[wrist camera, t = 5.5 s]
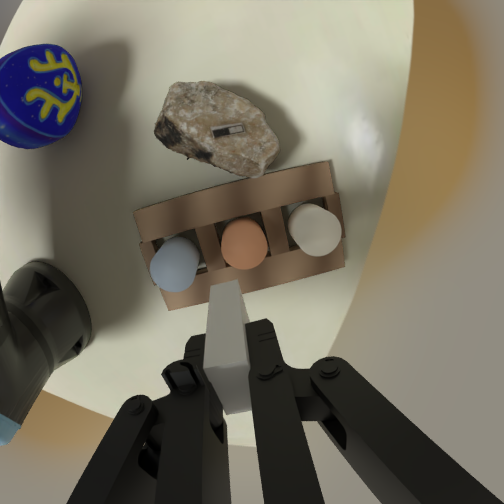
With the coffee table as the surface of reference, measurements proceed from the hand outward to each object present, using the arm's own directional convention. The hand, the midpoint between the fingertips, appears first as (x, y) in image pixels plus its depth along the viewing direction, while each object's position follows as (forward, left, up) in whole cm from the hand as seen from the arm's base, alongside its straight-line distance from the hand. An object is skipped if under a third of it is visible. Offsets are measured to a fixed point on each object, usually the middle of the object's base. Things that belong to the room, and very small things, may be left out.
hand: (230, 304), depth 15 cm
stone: (+1, +10, -16) cm, 19 cm away
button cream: (+8, -1, -14) cm, 16 cm away
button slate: (-6, -1, -14) cm, 15 cm away
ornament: (-16, +21, -16) cm, 31 cm away
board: (+1, -1, -16) cm, 16 cm away
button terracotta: (+1, -1, -16) cm, 16 cm away
